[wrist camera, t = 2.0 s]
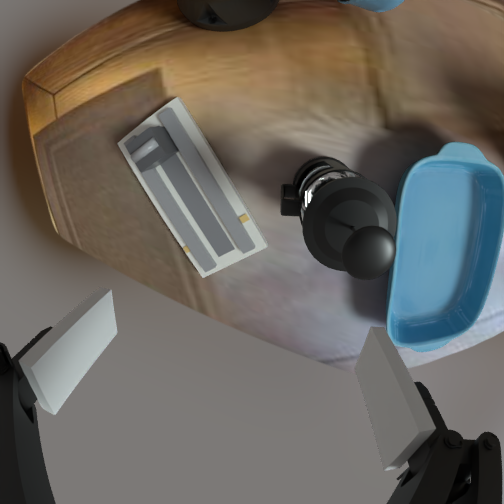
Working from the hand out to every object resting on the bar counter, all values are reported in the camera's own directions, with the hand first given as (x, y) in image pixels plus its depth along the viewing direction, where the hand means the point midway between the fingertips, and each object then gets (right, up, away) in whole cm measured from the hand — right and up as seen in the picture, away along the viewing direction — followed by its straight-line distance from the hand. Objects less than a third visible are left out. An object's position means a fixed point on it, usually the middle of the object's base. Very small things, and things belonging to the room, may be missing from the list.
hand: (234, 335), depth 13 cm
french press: (+11, +13, +26) cm, 31 cm away
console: (-8, +13, +28) cm, 32 cm away
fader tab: (-13, +19, +24) cm, 33 cm away
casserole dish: (+33, +5, +28) cm, 43 cm away
